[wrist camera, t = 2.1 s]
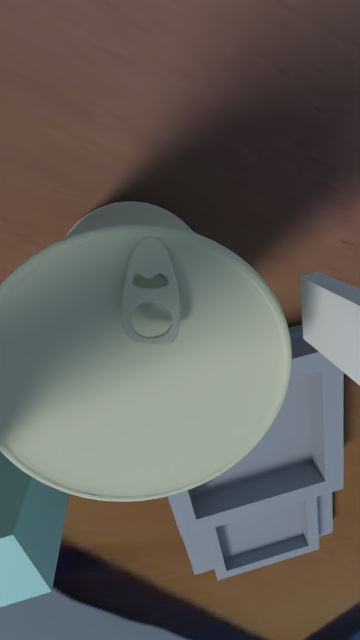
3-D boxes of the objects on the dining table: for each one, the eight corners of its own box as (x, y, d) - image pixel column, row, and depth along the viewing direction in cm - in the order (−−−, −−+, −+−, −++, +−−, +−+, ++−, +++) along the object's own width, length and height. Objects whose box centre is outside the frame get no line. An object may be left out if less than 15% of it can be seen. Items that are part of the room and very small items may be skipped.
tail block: (-22, 442, 22) (-93, 565, 15) (49, 422, 23) (12, 534, 15) (9, 490, 24) (-41, 619, 17) (73, 471, 25) (51, 591, 17)
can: (215, 207, 19) (340, 236, 8) (199, 347, 22) (271, 505, 11) (49, 194, 17) (-88, 209, 6) (60, 347, 21) (-15, 531, 10)
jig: (129, 370, 22) (129, 396, 19) (320, 319, 23) (347, 337, 20) (193, 563, 31) (199, 599, 29) (327, 522, 32) (345, 553, 29)
